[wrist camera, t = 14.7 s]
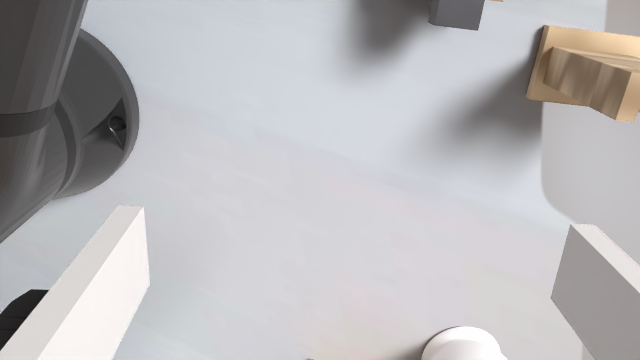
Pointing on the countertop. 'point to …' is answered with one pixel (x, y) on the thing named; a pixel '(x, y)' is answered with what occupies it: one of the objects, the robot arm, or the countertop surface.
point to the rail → (456, 13)
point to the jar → (463, 345)
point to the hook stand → (588, 71)
